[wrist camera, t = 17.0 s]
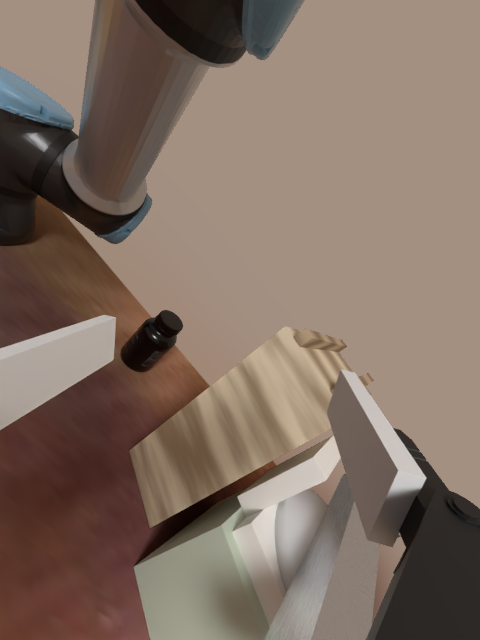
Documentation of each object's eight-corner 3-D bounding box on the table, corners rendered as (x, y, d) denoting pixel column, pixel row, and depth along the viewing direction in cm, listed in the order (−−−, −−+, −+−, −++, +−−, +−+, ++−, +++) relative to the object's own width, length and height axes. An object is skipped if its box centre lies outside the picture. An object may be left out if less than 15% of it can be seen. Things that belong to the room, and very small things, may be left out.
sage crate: (180, 770, 22) (317, 780, 16) (133, 566, 28) (221, 525, 23) (260, 622, 34) (354, 599, 29) (215, 503, 41) (284, 467, 35)
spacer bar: (271, 836, 11) (348, 850, 10) (231, 708, 13) (291, 703, 11) (360, 503, 36) (385, 493, 35) (342, 475, 38) (365, 464, 36)
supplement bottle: (154, 353, 53) (189, 318, 48) (148, 378, 47) (187, 342, 43) (124, 338, 49) (158, 299, 45) (114, 363, 44) (152, 322, 40)
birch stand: (149, 528, 32) (364, 409, 21) (129, 450, 36) (296, 317, 25) (230, 474, 47) (380, 388, 35) (208, 424, 51) (336, 333, 40)
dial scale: (313, 738, 18) (453, 737, 14) (222, 508, 24) (303, 467, 21) (347, 595, 29) (431, 574, 25) (278, 462, 35) (337, 430, 31)
